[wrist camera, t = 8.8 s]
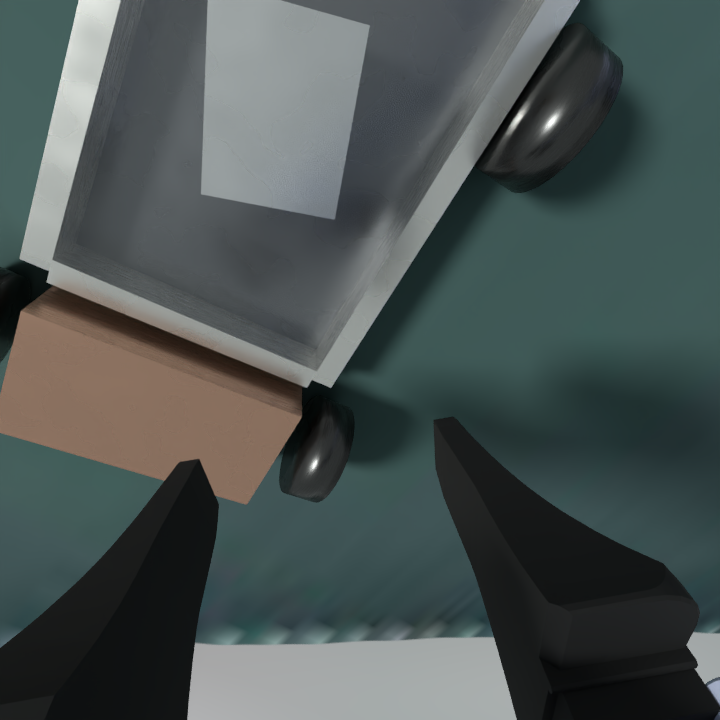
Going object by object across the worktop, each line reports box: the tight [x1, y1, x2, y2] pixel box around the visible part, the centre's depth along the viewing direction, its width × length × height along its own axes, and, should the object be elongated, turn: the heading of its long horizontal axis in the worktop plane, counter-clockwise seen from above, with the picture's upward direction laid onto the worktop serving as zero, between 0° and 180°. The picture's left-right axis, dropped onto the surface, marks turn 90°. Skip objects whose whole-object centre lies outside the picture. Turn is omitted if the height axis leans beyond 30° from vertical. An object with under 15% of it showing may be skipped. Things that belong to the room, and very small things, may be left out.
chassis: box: [0, 0, 623, 505], centre depth 16 cm, size 17×24×5 cm
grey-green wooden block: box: [201, 0, 370, 220], centre depth 14 cm, size 4×5×5 cm
